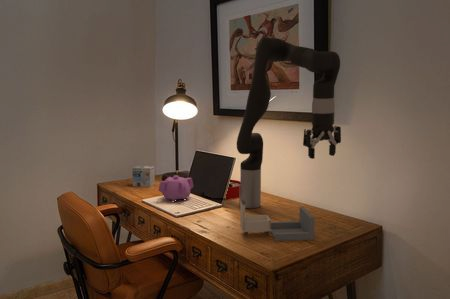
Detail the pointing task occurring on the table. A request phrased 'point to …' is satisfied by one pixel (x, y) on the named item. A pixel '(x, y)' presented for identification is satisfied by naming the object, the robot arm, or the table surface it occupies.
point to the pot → (176, 187)
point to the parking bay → (294, 228)
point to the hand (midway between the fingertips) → (321, 156)
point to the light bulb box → (143, 176)
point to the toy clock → (233, 189)
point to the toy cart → (254, 221)
